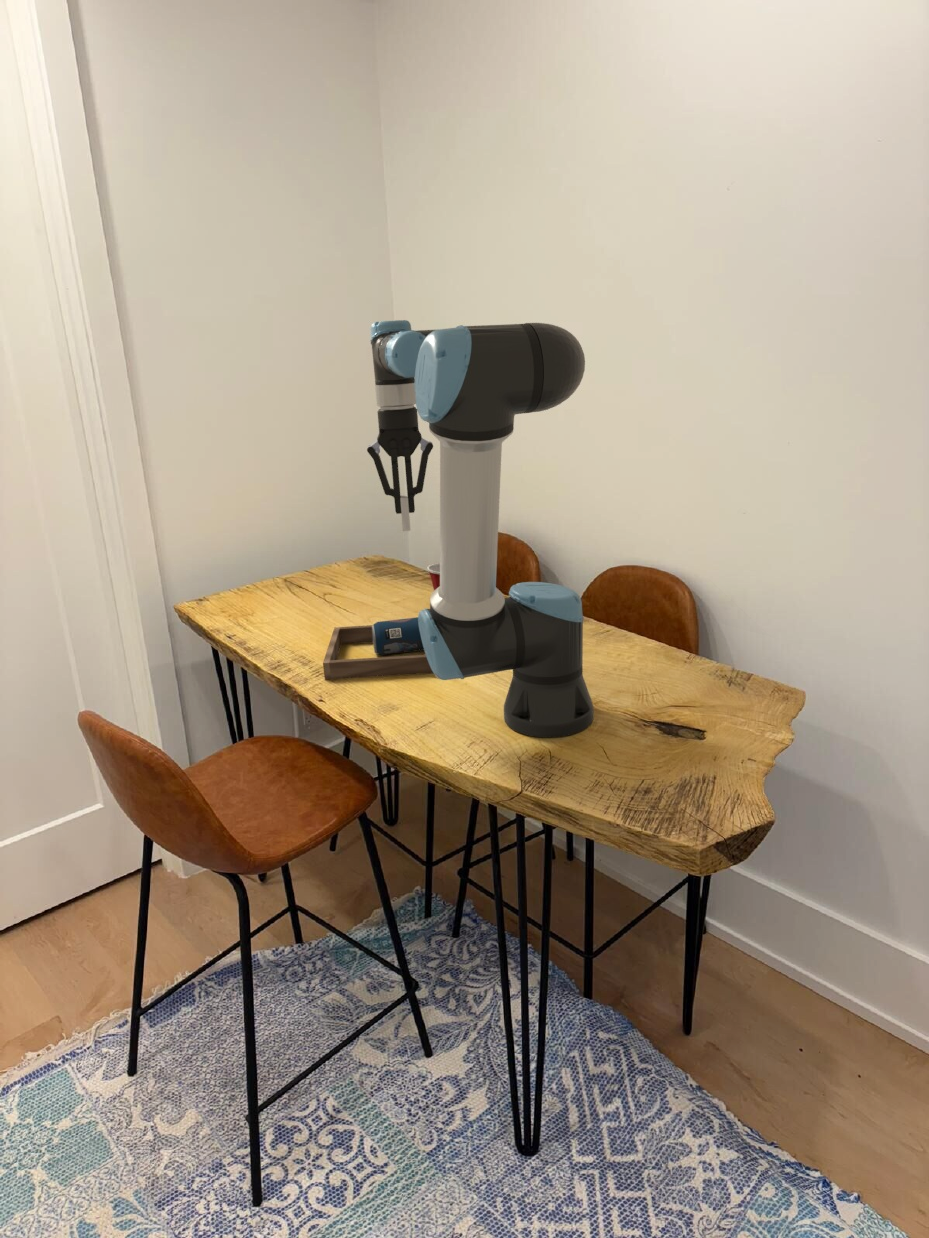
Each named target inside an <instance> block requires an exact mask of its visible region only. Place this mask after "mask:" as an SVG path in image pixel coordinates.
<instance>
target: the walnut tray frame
mask: <svg viewBox="0 0 929 1238" xmlns="http://www.w3.org/2000/svg"><path fill="white" fill-rule="evenodd" d="M372 625H373V624H371V625H355V626H354V625H353V626H352V625H351V626H337V627H336V626H335V627H334V628H333V631H332V634H331V638H330V640H329V643H328V646H327V649H326V653H325V656H324V659H323V661H322V666H323V677H324V680H325V681H327V680H329V681H331V680H343V679H345V680H346V679H358V678H359V679H360V678H376V677H377V678H378V677H392V676H408V675H425V674H426V675H427V674H434V673H433V671H432V669H431V667H430V665H429V662H428V660H427V657H426V654H418V655H417V654H416V655H415V654H414V655H401V656H400V655H398V656H397V655H396V656H384V657H383V656H382V657H381V656H380V657H365V658H363V657H362V658H351V659H349V658H347V659H338V657H339V653H340V648H341V646H342V645H350V644H365V643H367V644H368V643H373V638H372Z"/></svg>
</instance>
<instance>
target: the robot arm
mask: <svg viewBox="0 0 929 1238" xmlns="http://www.w3.org/2000/svg"><path fill="white" fill-rule="evenodd" d="M370 333H371V334H370V341H369V342H370V345H371V350H372V360H373V373H374V374H373V375H374V387H375V388H374V389H375V400H376V401H375V402H376V406H377V407H378V408H379V407H380V408H379V409H378V411H377V422H378V435H377V437H376V441H374V442H373V443H372V444H371V445H368V446H367V449H366V451H367V453H368V455H369V456H370V457H371V458H372V460H373V462H374V465H375V468H376V471H377V473H378V476H379V477H378V478H379V481H380V483H381V486H382V487H381V488H382V489H383V493H384V495H385V496H391V497H392V498H393V500H394V509H395V513H396V515H399V514H401V521H402V523H401V525H402V531H403V532H406V531H407V532H409V531H411V519H410V518H411V517H410V514H411V513H412V514H414V513H415V510H416V509H415V508H416V507H415V506H416V505H415V496H416V495H418V494H421V493H423V490H424V484H425V478H426V471H427V467H428V459H429V456H430V454H431V451H432V450H433V449H434V444H433V442H432V441H428V440H426V439H425V438H423V437H422V433H421V432H420V429H419V421H418V420H419V419H418V418H419V417H420V419H421V420H422V421H424V422H425V423H426V422H427V423H429V424H428V428H429V432H430V433H431V434H432V435H433V436H434V437H435V438H436V439H437V440H438V441H439V443H440V444H439V449H440V450H439V457H440V458H439V463H440V464H439V494H440V495H439V513H440V514H439V563H440V586H439V587H438V588H437V589H435V590H434V589H433V592H431V594H430V597H429V598H430V599H429V608H423V609H422V610H420V611H419V612H418V614H417V615H418V616H417V617H418V624H419V631H420V635H421V640H422V644H423V647H424V650H423V651H424V655H426V657H427V660H428V662H429V665H430V667H431V669H432V671H433V673H432V674H434V676H435V677H437V678H438V679H439V680H442V681H449V680H450V681H451V680H456V679H461V680H465V678H470V677H476V676H482V675H487V674H493V673H498V672H505V671H510V670H512V678H511V681H510V684H509V688H508V691H507V694H506V698H505V700H504V704H503V720H504V723H505V724H506V725H507V726H508V727H509V729H511V730H513V731H515V732H516V733H519V734H522V735H526V736H529V737H535V738H561V737H566V736H567V737H568V736H572V735H575V734H578V733H580V732H582V731H584V730H586V729H587V728H588V727H590V726H591V724H592V723H593V720H594V704H593V701H592V698H591V694H590V692H589V689H588V687H587V683H586V680H585V679H584V675H583V672H584V671H583V660H584V659H583V653H584V652H583V651H584V650H583V647H584V645H583V639H584V634H583V633H584V631H583V629H584V628H583V627H584V625H583V624H584V620H585V619H584V614H583V603H582V599H581V596H580V595H579V594H578V592H576V591H575V590H573V589H572V588H569V587H567V586H564V585H561V584H556V583H551V582H544V581H543V582H542V581H526V582H525V581H524V582H519V583H516V584H513V585H512V586H511V587H510V589H509V591H508V597H505V596H504V593H503V592H502V591H501V590H499V588H498V587H496V586H497V567H498V566H497V565H498V543H499V522H500V521H499V518H500V517H499V516H500V515H499V514H500V499H501V497H500V493H501V492H500V491H501V489H500V488H501V471H502V469H501V468H502V449H503V448H502V446H503V445H502V444H503V443H504V442H505V440H507V439H508V438H509V437H511V436H512V434H513V433H514V429H515V428H514V427H515V425H514V423H515V415H520V414H530V413H531V414H532V413H538V412H540V413H541V412H544V411H547V410H549V409H553V408H555V407H557V406H559V405H561V404H562V403H564V402H565V401H567V400H569V398H570V397H571V396H572V395H573V394H574V393H575V392H576V391H577V389H578V388H579V386H580V385H581V382H582V380H583V377H584V373H585V369H586V359H585V353H584V350H583V347H582V345H581V344H580V342H579V339H578V338H576V336H575V335H574V334H573V333H572V332H570V331H568V330H567V329H566V328H563V327H561V326H559V325H554V324H551V323H545V322H543V323H542V322H526V323H511V324H489V325H488V324H487V325H484V324H483V325H458V326H456V327H449V328H440V329H438V328H437V329H423V330H422V329H421V330H419V329H418V330H413V329H412V325H411V322H410V321H409V320H407V319H404V320H402V319H401V320H399V319H398V320H396V319H395V320H382V321H374V322H373V323H372V324H371V325H370ZM415 405H416V407H415ZM418 416H419V417H418ZM419 445H420V450H421V456H420V461H419V469H418V474H417V479H416V480H417V481H416V486H414V483H413V482H414V481H413V469H412V455H413V454H414V452H415V451H416V449H417V448H418V447H419ZM380 447H381V448H382V449H383V450H384V451H385V453H386V454H387V456H389V457H390V461H391V474H392V484H393V485H392V487H393V488H392V487H391V486H390V483H389V480H388V477H387V474H386V471H385V468H384V466H383V462H382V458H381V455H380V452H381V448H380ZM399 457H403V458H404V468H405V469H404V470H405V480H406V482H405V483H406V494H407V495H406V494H405V495H404V494H403V495H401V487H400V474H399V473H400V472H399V462H398V461H399V459H398V458H399Z"/></svg>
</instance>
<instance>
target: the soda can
mask: <svg viewBox="0 0 929 1238" xmlns="http://www.w3.org/2000/svg"><path fill="white" fill-rule="evenodd" d="M371 625H372V638H373V642H372V644H373V651H374V653H375V654H376V655H380V656H385V655H393V654H401V653H402V654H403V653H411V652H418V651H419V652H420V651H424V647H423V644H422V640H421V635H420V631H419V624H418V616H417V617H410V618H409V617H408V618H400V619H390V620H382V621H381V620H380V621H376V622H375V623H374V624H371Z"/></svg>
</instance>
